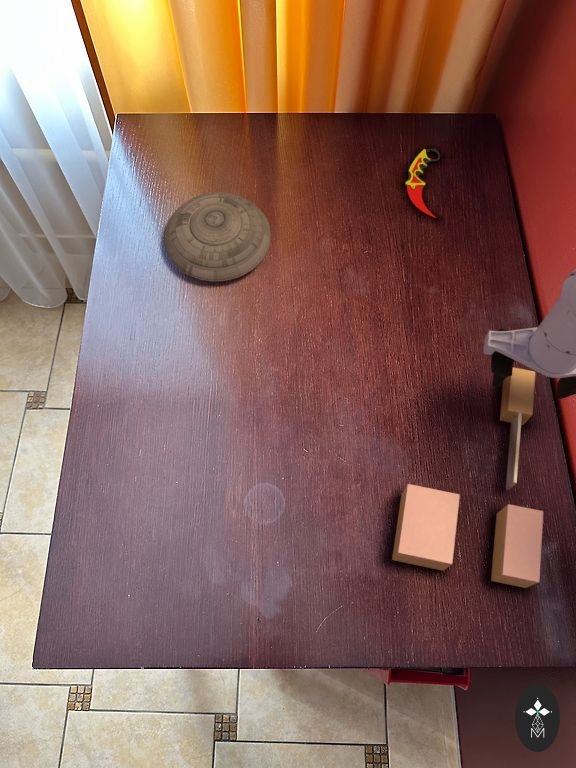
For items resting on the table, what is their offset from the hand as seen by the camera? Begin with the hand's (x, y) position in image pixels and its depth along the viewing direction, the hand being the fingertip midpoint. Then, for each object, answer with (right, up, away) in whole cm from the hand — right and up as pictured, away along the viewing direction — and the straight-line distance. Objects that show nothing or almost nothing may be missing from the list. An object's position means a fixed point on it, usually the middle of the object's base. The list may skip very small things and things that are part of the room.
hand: (527, 385), depth 83 cm
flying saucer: (-39, +20, +15) cm, 46 cm away
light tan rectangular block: (-3, -19, -3) cm, 20 cm away
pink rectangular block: (-13, -17, -2) cm, 22 cm away
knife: (-9, +30, +20) cm, 37 cm away
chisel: (-1, -6, +3) cm, 7 cm away
